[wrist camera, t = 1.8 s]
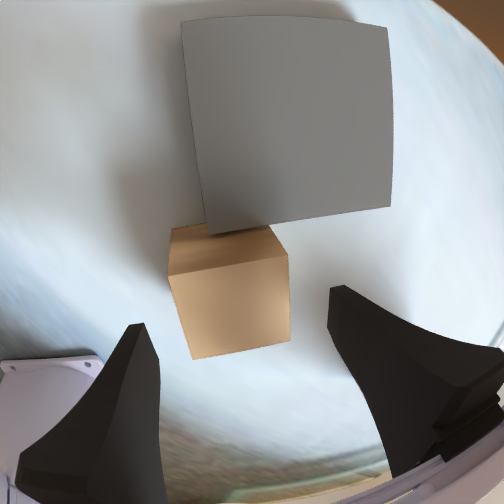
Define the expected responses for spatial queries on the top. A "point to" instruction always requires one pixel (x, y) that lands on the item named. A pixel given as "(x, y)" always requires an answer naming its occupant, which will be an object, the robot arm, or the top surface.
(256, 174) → the slate base
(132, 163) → the top surface
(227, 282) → the oak block
